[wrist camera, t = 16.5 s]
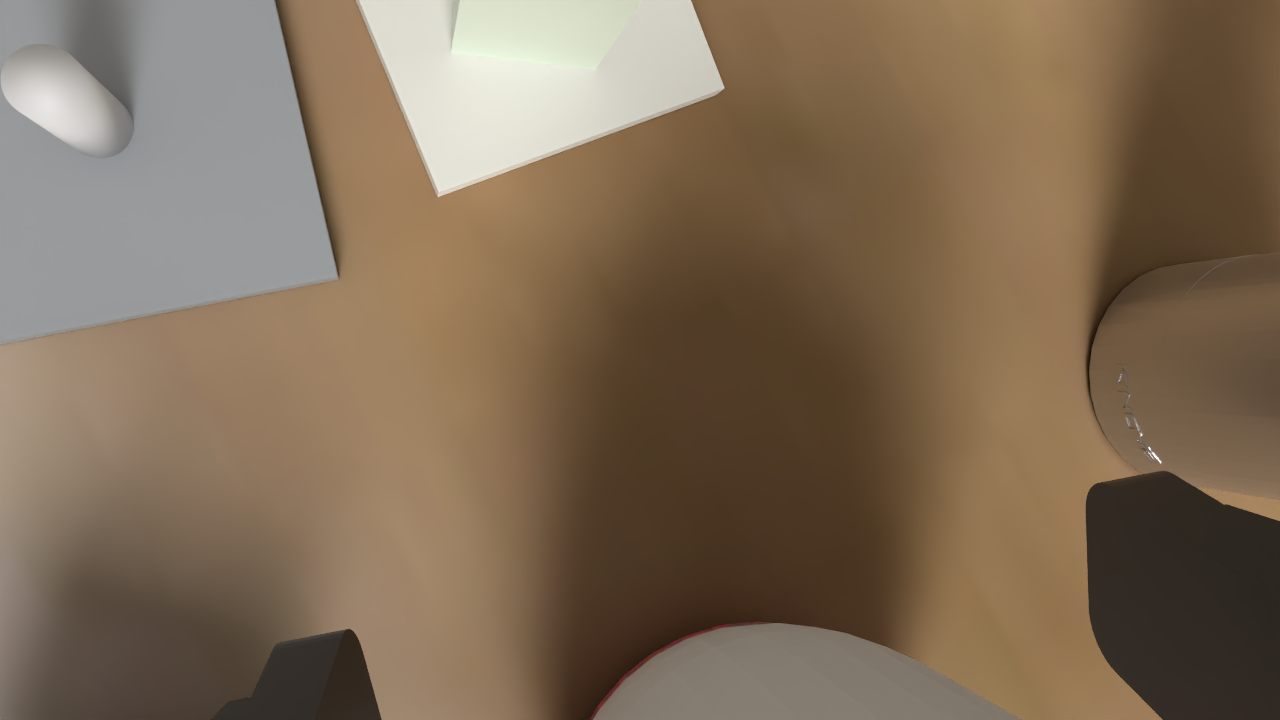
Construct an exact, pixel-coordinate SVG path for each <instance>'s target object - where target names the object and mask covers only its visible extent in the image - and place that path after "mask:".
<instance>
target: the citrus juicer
mask: <svg viewBox="0 0 1280 720" xmlns="http://www.w3.org/2000/svg"><path fill="white" fill-rule="evenodd" d="M590 720H1021V719H1020V718H1018V717H1016V716H1014V715H1012V714H1011V713H1009V712H1007V711H1005V710H1004V709H1002V708H1000V707H998V706H997V705H995V704H993V703H991V702H990V701H988V700H986V699H984V698H983V697H981V696H979V695H977V694H976V693H974V692H972V691H970V690H968V689H967V688H965V687H963V686H961V685H960V684H958V683H956V682H954V681H953V680H951V679H949V678H947V677H946V676H944V675H942V674H940V673H939V672H937V671H935V670H933V669H932V668H930V667H928V666H926V665H924V664H923V663H921V662H919V661H917V660H915V659H913V658H910V657H908V656H906V655H904V654H901V653H899V652H897V651H895V650H892V649H890V648H888V647H885V646H883V645H880V644H877V643H874V642H871V641H868V640H865V639H862V638H859V637H856V636H853V635H850V634H847V633H843V632H838V631H833V630H828V629H823V628H818V627H810V626H801V625H792V624H783V623H766V622H757V621H754V622H744V623H734V624H724V625H718V626H715V627H712V628H709V629H705V630H702V631H699V632H696V633H693V634H689V635H686V636H684V637H682V638H680V639H678V640H676V641H674V642H672V643H670V644H668V645H667V646H665V647H663V648H661V649H659V650H657V651H655V652H654V653H652V654H650V655H649V656H647V657H646V658H645V659H644V660H643V661H641V662H640V663H639V664H638V665H636V666H635V667H634V668H633V669H631V670H630V671H629V672H628V673H626V674H625V675H624V676H623V677H622V678H621V679H620V680H619V681H618V683H617V684H616V685H615V686H614V687H613V688H612V690H611V691H610V692H609V693H608V694H607V695H606V697H605V698H604V699H603V700H602V701H601V702H600V704H599V705H598V706H597V708H596V709H595V711H594V713H593V714H592V716H591V718H590Z"/></svg>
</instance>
